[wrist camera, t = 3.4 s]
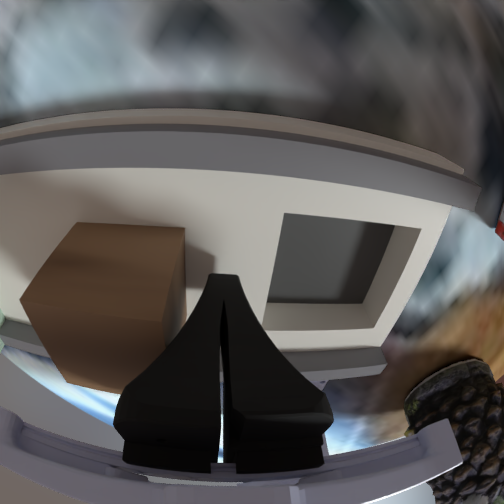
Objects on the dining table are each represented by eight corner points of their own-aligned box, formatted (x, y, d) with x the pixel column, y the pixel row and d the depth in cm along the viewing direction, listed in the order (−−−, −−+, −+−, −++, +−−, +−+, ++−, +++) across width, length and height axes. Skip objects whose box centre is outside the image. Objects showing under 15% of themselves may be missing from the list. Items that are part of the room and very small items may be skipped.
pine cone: (369, 409, 30) (406, 572, 10) (461, 336, 23) (534, 527, 2) (440, 407, 37) (475, 517, 16) (504, 353, 30) (554, 471, 9)
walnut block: (186, 314, 14) (176, 402, 10) (97, 304, 14) (67, 382, 9) (185, 228, 11) (161, 322, 7) (76, 222, 11) (19, 299, 7)
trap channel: (361, 333, 20) (384, 394, 16) (14, 307, 17) (-14, 357, 12) (436, 153, 12) (505, 196, 8) (-36, 138, 9) (-95, 174, 5)
